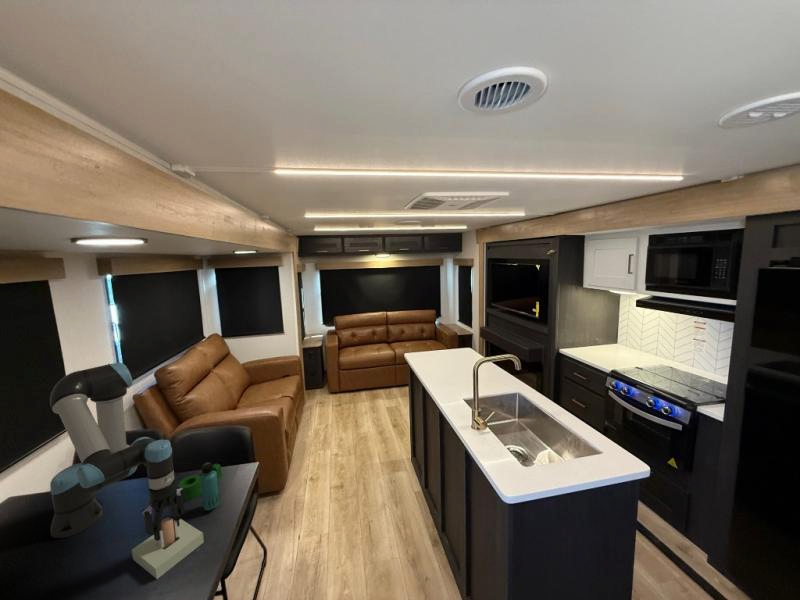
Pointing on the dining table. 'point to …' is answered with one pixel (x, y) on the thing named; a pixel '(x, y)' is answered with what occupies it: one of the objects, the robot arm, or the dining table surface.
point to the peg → (168, 532)
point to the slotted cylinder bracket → (195, 483)
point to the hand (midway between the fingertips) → (168, 540)
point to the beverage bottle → (209, 487)
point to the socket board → (167, 550)
